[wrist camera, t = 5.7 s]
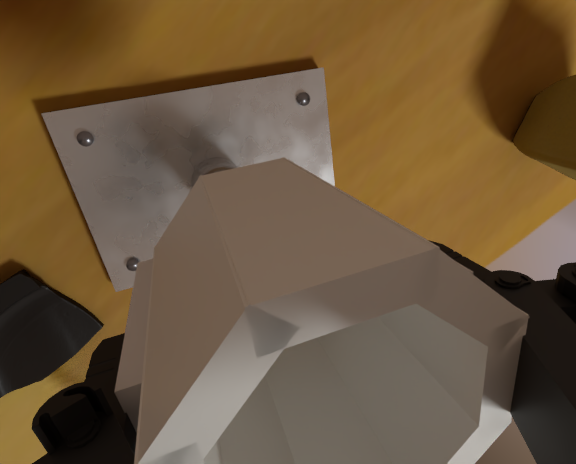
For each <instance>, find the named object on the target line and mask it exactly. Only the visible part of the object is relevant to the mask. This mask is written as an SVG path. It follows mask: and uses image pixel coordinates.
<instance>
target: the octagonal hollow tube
mask: <svg viewBox="0 0 576 464" xmlns="http://www.w3.org/2000/svg"><path fill="white" fill-rule="evenodd" d="M528 319H529V315H528V314H527V313H525V312H524V311H522V310H520V309H519V308H517V307H516V306H514V305H513V304H511V303H510V302H509V301H507V300H506V299H505V298H503V297H502V296H501V295H499V294H498V293H497V292H495V291H494V290H493V289H491V288H490V287H489V286H487V285H486V284H485V283H484V282H482V281H481V280H480V279H478V278H477V277H476V276H474V275H473V274H472V273H470V272H469V271H468V270H466V269H465V268H464V267H462V266H461V265H460V264H458V263H457V262H456V261H454V260H453V259H452V258H450V257H449V256H448V255H446V254H445V253H444V252H442V251H441V250H440V247H439V246H437V245H435V244H433V243H432V242H430V241H428V240H426V239H425V238H423V237H421V236H419V235H418V234H416V233H414V232H413V231H411V230H409V229H407V228H406V227H404V226H402V225H400V224H399V223H397V222H395V221H394V220H392V219H390V218H388V217H387V216H385V215H383V214H381V213H380V212H378V211H376V210H375V209H373V208H371V207H369V206H368V205H366V204H364V203H362V202H361V201H359V200H357V199H355V198H354V197H352V196H350V195H349V194H347V193H345V192H343V191H342V190H340V189H338V188H336V187H335V186H333V185H331V184H330V183H328V182H326V181H324V180H323V179H321V178H319V177H317V176H316V175H314V174H312V173H311V172H309V171H307V170H305V169H304V168H302V167H300V166H298V165H297V164H295V163H293V162H292V161H290V160H288V159H286V158H285V157H284V158H283V157H282V158H280V159H275V160H270V161H266V162H261V163H257V164H252V165H248V166H243V167H238V168H234V169H229V170H225V171H220V172H216V173H211V174H206V175H202V176H201V175H200V176H199V178H198V180H197V181H196V183H195V184H194V186H193V188H192V189H191V191H190V192H189V194H188V196H187V197H186V199H185V200H184V202H183V203H182V205H181V207H180V208H179V210H178V211H177V213H176V215H175V216H174V218H173V219H172V221H171V222H170V224H169V226H168V227H167V229H166V230H165V232H164V234H163V235H162V237H161V238H160V240H159V241H158V243H157V245H156V246H154V255H153V266H152V277H151V287H150V298H149V309H148V320H147V330H146V341H145V352H144V362H143V373H142V384H141V395H140V405H139V416H138V427H137V437H136V448H135V459H134V464H475V463H476V462H477V460H478V459H479V458H480V457H481V456H482V455H483V454H484V452H485V451H486V450H487V449H488V448H489V447H490V446H491V444H492V443H493V442H494V441H495V440H496V439H497V438H498V436H499V435H500V434H501V433H502V432H503V431H504V430H505V428H506V427H507V426H508V425H509V424H510V423H511V417H512V415H511V413H510V409H511V403H512V397H513V391H514V385H515V379H516V373H517V367H518V361H519V355H520V349H521V343H522V337H523V336H524V335H526V329H527V323H528Z"/></svg>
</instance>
